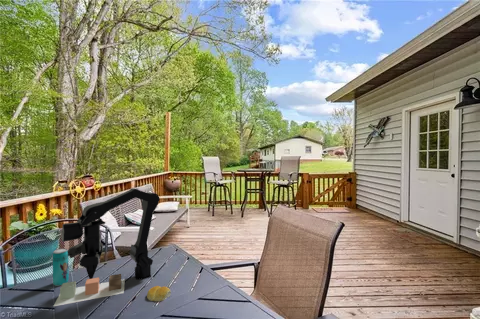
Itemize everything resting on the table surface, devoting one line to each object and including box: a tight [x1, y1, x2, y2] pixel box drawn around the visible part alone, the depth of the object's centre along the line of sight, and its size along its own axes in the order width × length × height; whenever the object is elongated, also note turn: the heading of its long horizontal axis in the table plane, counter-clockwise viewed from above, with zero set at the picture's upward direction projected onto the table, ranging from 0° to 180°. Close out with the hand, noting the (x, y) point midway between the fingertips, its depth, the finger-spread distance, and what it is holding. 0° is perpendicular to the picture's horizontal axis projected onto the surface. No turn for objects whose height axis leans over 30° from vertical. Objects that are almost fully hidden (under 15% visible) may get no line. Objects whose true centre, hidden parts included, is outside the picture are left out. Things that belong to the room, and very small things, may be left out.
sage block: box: [59, 281, 77, 300], centre depth 103 cm, size 4×4×4 cm
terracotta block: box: [84, 276, 100, 295], centre depth 106 cm, size 4×4×4 cm
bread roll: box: [146, 285, 172, 302], centre depth 103 cm, size 8×9×4 cm
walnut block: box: [108, 273, 122, 291], centre depth 110 cm, size 4×4×4 cm
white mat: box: [52, 278, 126, 307], centre depth 106 cm, size 24×13×1 cm, turn 113°
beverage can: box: [52, 248, 70, 287], centre depth 114 cm, size 6×6×15 cm
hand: (92, 273), depth 106 cm, fingers open, 9 cm apart
